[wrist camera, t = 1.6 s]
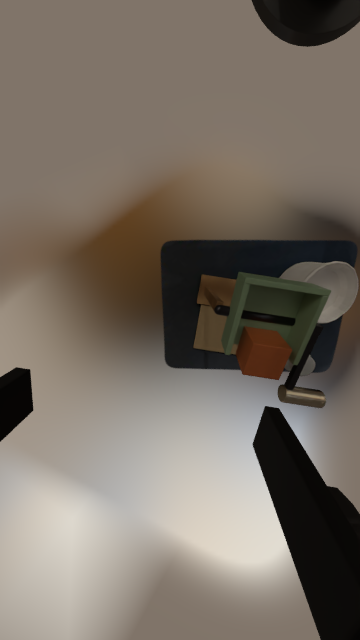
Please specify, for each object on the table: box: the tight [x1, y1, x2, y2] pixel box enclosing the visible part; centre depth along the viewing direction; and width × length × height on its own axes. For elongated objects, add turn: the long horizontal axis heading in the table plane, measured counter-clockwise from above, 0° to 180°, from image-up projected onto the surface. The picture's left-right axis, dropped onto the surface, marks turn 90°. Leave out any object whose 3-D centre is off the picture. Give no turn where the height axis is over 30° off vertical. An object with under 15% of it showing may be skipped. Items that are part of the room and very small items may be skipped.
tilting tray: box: [214, 272, 331, 408], centre depth 24 cm, size 15×16×5 cm
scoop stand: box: [197, 275, 237, 314], centre depth 33 cm, size 6×13×18 cm, turn 81°
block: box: [236, 326, 292, 380], centre depth 22 cm, size 4×4×4 cm
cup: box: [280, 261, 358, 323], centre depth 36 cm, size 10×10×10 cm
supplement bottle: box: [284, 355, 315, 376], centre depth 39 cm, size 5×5×10 cm
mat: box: [193, 305, 238, 354], centre depth 43 cm, size 10×11×1 cm
